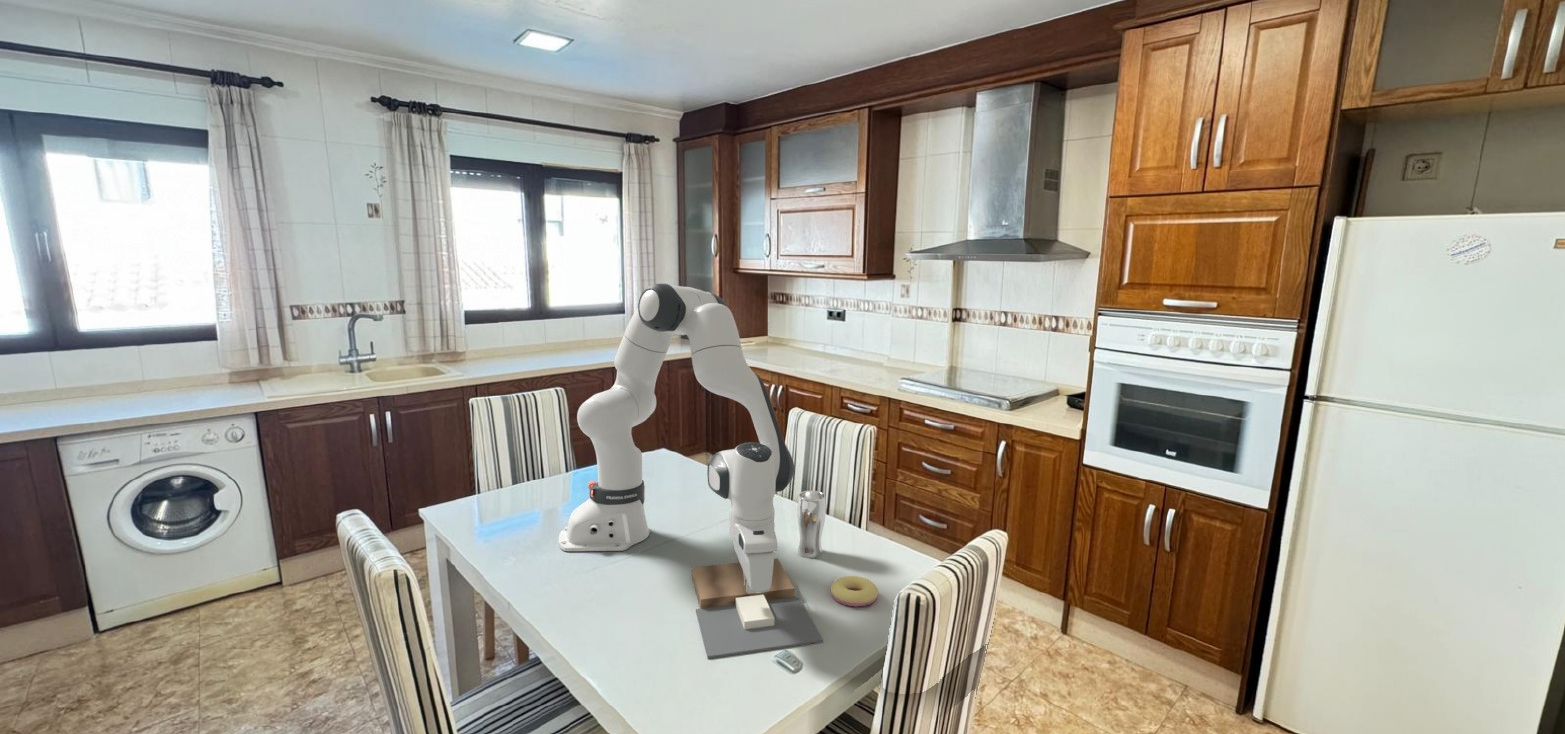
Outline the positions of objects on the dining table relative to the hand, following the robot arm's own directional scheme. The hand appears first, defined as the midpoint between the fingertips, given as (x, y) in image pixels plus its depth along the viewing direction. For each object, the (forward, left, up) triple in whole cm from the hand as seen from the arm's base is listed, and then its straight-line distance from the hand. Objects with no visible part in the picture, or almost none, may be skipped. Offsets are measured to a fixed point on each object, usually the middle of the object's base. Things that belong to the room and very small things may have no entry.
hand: (749, 589), depth 128 cm
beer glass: (+21, +24, -6) cm, 32 cm away
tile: (+1, -1, -5) cm, 5 cm away
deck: (+1, +11, -6) cm, 12 cm away
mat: (+1, -4, -6) cm, 7 cm away
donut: (+24, +2, -6) cm, 24 cm away
